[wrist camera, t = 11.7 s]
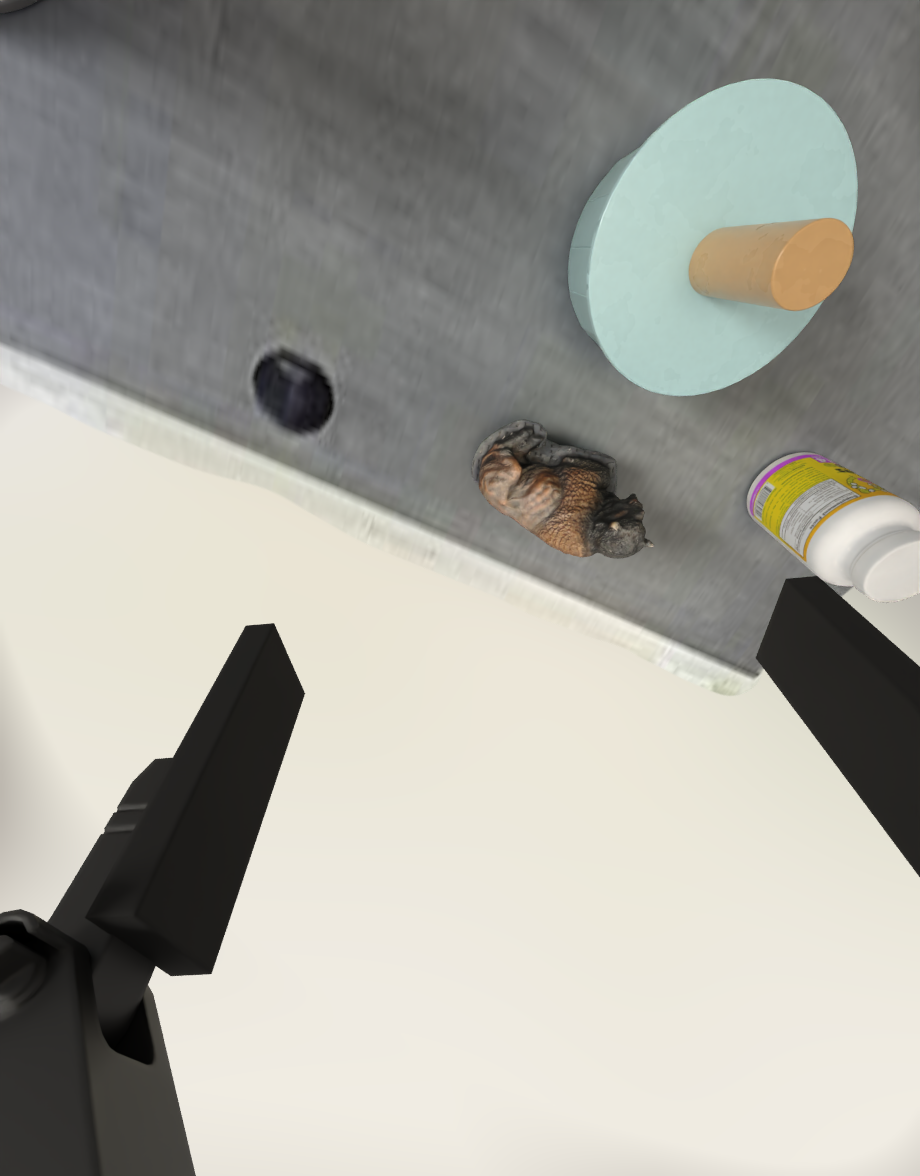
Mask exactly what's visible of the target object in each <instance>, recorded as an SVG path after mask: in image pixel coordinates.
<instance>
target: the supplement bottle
mask: <svg viewBox="0 0 920 1176" xmlns="http://www.w3.org/2000/svg"><path fill="white" fill-rule="evenodd" d="M747 509H748V512H749V514H750V516H751V518H752V519H753V520H754V521H755V522H756V523H757V524H758V525H760V526H761V527H762V528H763V529H764V530H765V531H766V532H768V533H769V534H770V535H771V536H772V537H773V538H775V539H776V540H777V541H778V542H779V543H780V544H781V545H783V546H784V547H785V548H786V549H787V550H788V551H789V552H791V553H792V554H793V555H794V556H795V557H796V558H797V559H799V560H800V561H801V562H802V563H803V564H804V565H805V566H806V567H808V568H809V569H810V570H811V571H812V572H813V573H814V574H815V575H816V576H818V577H819V578H820V579H822V580H823V581H825V582H828V583H830V584H834V585H839V586H855V588H856V589H858V590H859V591H860V592H862V593H863V594H864V595H865V596H867V597H868V598H870V599H872V600H874V601H876V602H882V603H889V602H897V601H901V600H904V599H907V598H909V597H912V596H914V595H916V594H918V593H920V513H919V511H918V510H917V509H916V508H915V507H914V506H913V505H912V504H910V503H909V502H907V501H905V500H903V499H902V498H900V497H898V496H896V495H894V494H892V493H890V492H888V491H887V490H885V489H883V488H881V487H879V486H877V485H875V484H874V483H872V482H870V481H868V480H867V479H865V478H863V477H861V476H859V475H857V474H855V473H854V472H852V471H850V470H848V469H846V468H844V467H842V466H840V465H839V464H837V463H835V462H833V461H831V460H829V459H827V458H825V457H823V456H821V455H819V454H815V453H809V452H802V453H794V454H790V455H787V456H785V457H782V458H780V459H778V460H776V461H775V462H773V463H772V464H770V465H769V466H768V467H767V468H765V469H764V470H763V471H762V472H761V473H760V474H759V475H758V476H757V478H756V479H755V480H754V482H753V484H752V485H751V487H750V490H749V492H748V496H747Z"/></svg>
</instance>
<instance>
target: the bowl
mask: <svg viewBox="0 0 920 1176" xmlns="http://www.w3.org/2000/svg"><path fill="white" fill-rule="evenodd" d="M639 148H640V147H639ZM639 148H638V149H639ZM638 149H636V150H634V151H633V152H631V153H630V154H628V155H627V156H625V157H624V158H622V159H621V160H619V161H618V162H617V163H616V164H615V165H614V166H613V168H612V169H611V170H610V171H609V172H608V174H607V175H606V176H605V177H604V178H603V180H602V181H601V182H600V183H599V184H598V186H597V187H596V189H595V190H594V192H593V193H592V195H591V196H590V198H589V200H588V201H587V203H586V205H585V207H584V209H583V211H582V214H581V216H580V218H579V221H578V223H577V226H576V229H575V232H574V236H573V239H572V243H571V249H570V254H569V264H568V285H569V293H570V298H571V302H572V305H573V309H574V311H575V314H576V316H577V319H578V320H579V323H580V325H581V327H582V328H583V329H584V330H585V331H586V333H587V334H588V335H589V336H590V338H591V339H593V340H594V341H595V342H596V343H597V344H598V342H597V339H596V337H595V334H594V332H593V329H592V325H591V321H590V317H589V312H588V304H587V279H586V277H587V268H588V259H589V253H590V249H591V244H592V239H593V235H594V232H595V229H596V226H597V223H598V220H599V217H600V214H601V212H602V210H603V207H604V205H605V203H606V200H607V198H608V196H609V194H610V192H611V190H612V188H613V187H614V185H615V183H616V181H617V179H618V177H619V176H620V174H621V173H622V171H623V170H624V168H625V167H626V165H627V164H628V162H629V161H630V159H631V158H632V157H633V155H634V154H635V153H636V152H637V150H638ZM598 345H599V344H598Z"/></svg>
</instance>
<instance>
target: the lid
mask: <svg viewBox="0 0 920 1176" xmlns="http://www.w3.org/2000/svg"><path fill="white" fill-rule="evenodd" d="M857 193H858V180H857V168H856V161H855V157H854V152H853V148H852V144H851V141H850V139H849V137H848V134H847V132H846V129H845V127H844V125H843V124H842V122H841V120H840V119H839V117H838V116H837V114H836V113H835V111H834V110H833V109H832V108H831V107H830V106H829V105H828V104H827V103H826V102H825V101H824V100H823V99H822V98H821V97H820V96H818V95H817V94H815V93H814V92H812V91H811V90H809V89H808V88H806V87H803V86H801V85H798V84H795V83H793V82H790V81H785V80H778V79H772V78H766V79H749V80H745V81H740V82H736V83H731V84H728V85H726V86H723V87H721V88H718V89H716V90H713V91H711V92H709V93H707V94H705V95H703V96H702V97H700V98H698V99H696V100H695V101H693V102H691V103H689V104H688V105H686V106H685V107H683V108H682V109H681V110H679V111H678V112H677V113H675V114H674V115H673V116H671V117H670V118H669V119H667V120H666V121H665V122H664V123H663V124H662V125H661V126H660V127H659V128H658V129H657V130H656V131H655V132H654V133H652V134H651V135H650V136H649V137H648V139H647V140H646V141H645V142H644V143H643V144H642V146H641V147H640V148H639V149H638V150H637V152H636V153H635V154H634V155H633V157H632V158H631V159H630V161H629V162H628V164H627V165H626V167H625V168H624V170H623V171H622V173H621V174H620V176H619V177H618V179H617V181H616V183H615V185H614V187H613V188H612V190H611V192H610V194H609V196H608V198H607V200H606V203H605V205H604V207H603V210H602V212H601V214H600V217H599V220H598V223H597V226H596V229H595V232H594V235H593V239H592V244H591V249H590V253H589V259H588V268H587V277H586V279H587V304H588V312H589V317H590V321H591V325H592V329H593V332H594V334H595V337H596V339H597V342H598V344H599V346H600V348H601V350H602V351H603V353H604V355H605V356H606V358H607V359H608V360H609V362H610V363H611V364H612V365H613V367H614V368H615V369H616V370H617V371H618V372H620V373H621V374H622V375H623V376H624V377H625V378H627V379H628V380H630V381H631V382H633V383H634V384H636V385H637V386H639V387H641V388H644V389H646V390H648V391H651V392H654V393H658V394H662V395H669V396H694V395H700V394H706V393H709V392H713V391H716V390H719V389H723V388H725V387H727V386H730V385H732V384H734V383H737V382H739V381H740V380H742V379H744V378H746V377H748V376H749V375H751V374H753V373H754V372H756V371H757V370H759V369H760V368H762V367H763V366H765V365H766V364H767V363H769V362H770V361H771V360H772V359H773V358H775V357H776V356H777V355H778V354H779V353H781V352H782V351H783V350H784V349H785V348H786V347H787V346H788V345H789V344H790V343H791V342H792V341H793V340H794V339H795V338H796V337H797V336H798V334H799V333H800V332H801V331H802V330H803V328H804V327H805V326H806V325H807V324H808V323H809V321H810V320H811V318H812V317H813V316H814V314H815V313H816V311H817V310H818V308H819V307H820V306H821V304H822V302H823V301H824V299H826V298H827V297H828V296H829V295H830V294H831V293H832V292H833V291H834V290H835V289H836V288H837V287H838V286H839V284H840V283H841V281H842V280H843V278H844V277H845V275H846V273H847V271H848V269H849V267H850V264H851V261H852V257H853V252H854V240H853V236H852V231H853V227H854V221H855V215H856V208H857Z"/></svg>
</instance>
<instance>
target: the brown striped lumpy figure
mask: <svg viewBox="0 0 920 1176" xmlns="http://www.w3.org/2000/svg"><path fill="white" fill-rule="evenodd" d="M546 437H547V432H546V430H545V429H544V427H543V426H542V425H541V424H539V423H534V422H530V421H527V420H518V421H514V422H512V423H510V424H508V425H506V426H504V427H502V428H500V429H499V430H497V431H496V432H494V433H493V434H492V435H490V436H489V437H488V438H486V439H485V440H484V441H483V442H482V443H481V445H480V446H479V448H478V450H477V452H476V454H475V456H474V459H473V463H472V478H473V480H474V481H475V482H476V483H478V484H479V489H480V491H481V493H482V494H483V496H484V497H485V498H486V499H487V501H488V502H489V503H490V504H491V505H492V506H493V507H495V508H496V509H497V510H498V511H500V512H501V513H502V514H504V515H507V516H509V517H511V518H513V519H514V520H515V521H517V522H518V523H519V524H520V525H521V526H522V527H524V528H526V529H527V530H529V531H530V532H531V533H533V534H535V535H536V536H537V537H539V538H540V539H541V540H543V541H544V542H546V543H547V544H548V545H550V546H551V547H553V548H555V549H557V550H560V551H562V552H563V553H565V554H571V555H573V556H579V557H587V556H592V555H593V554H595V553H601V554H603V555H605V556H607V557H610V558H625V557H629V556H632V555H634V554H635V553H637V552H638V551H640V550H641V549H642V548H643V547H653V546H654V545H653V543H652V542H651V541H650V540H647V539H645V538H644V536H645V533H646V531H645V528H644V526H643V523H642V520H643V517H644V513H645V512H644V510H642V508H643V506H642V504H641V503H640V502H639V501H638V499H637V497H636V495H635V494H631V495H630V496H629V497H628V498H626V499H622V500H620V499H619V498H618V497H617V496H616V495H615V493H616V487H617V475H616V473H617V470H616V469H617V466H616V461H615V459H613V458H612V457H610V456H608V455H606V454H603V453H599V452H596V451H588V450H584V449H581V448H577V447H574V446H560V445H558V444H556V443H554V442H552V441H550V440H547V439H546Z"/></svg>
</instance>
